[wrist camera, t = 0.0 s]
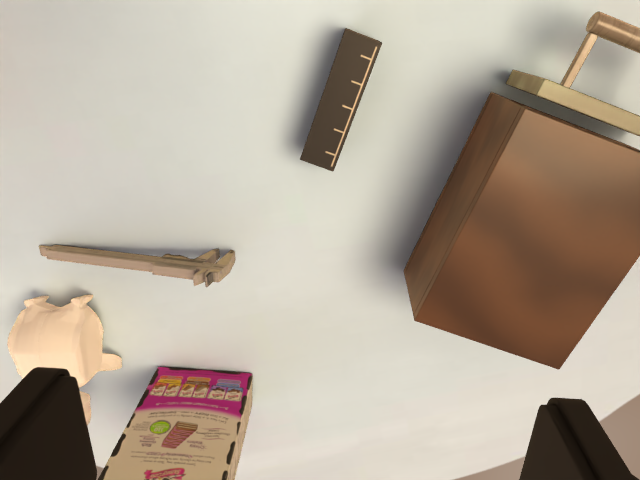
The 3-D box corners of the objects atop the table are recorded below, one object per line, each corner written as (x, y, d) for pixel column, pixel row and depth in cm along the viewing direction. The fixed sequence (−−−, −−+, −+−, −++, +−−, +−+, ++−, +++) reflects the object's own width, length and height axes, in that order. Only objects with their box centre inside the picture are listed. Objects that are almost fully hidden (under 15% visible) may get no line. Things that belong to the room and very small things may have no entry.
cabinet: (490, 91, 42) (525, 107, 34) (630, 146, 43) (697, 175, 35) (403, 270, 49) (414, 320, 41) (524, 313, 50) (559, 370, 42)
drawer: (545, 2, 38) (587, -3, 31) (684, 59, 39) (753, 66, 33) (423, 248, 47) (435, 285, 41) (538, 289, 48) (569, 332, 42)
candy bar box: (161, 398, 58) (95, 529, 43) (157, 364, 56) (87, 489, 41) (254, 406, 58) (221, 540, 43) (254, 372, 55) (219, 500, 40)
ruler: (345, 27, 40) (345, 28, 37) (379, 41, 41) (382, 42, 37) (303, 148, 45) (299, 159, 41) (334, 159, 45) (333, 171, 41)
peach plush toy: (48, 291, 56) (54, 420, 57) (-7, 304, 48) (2, 454, 48) (119, 290, 56) (125, 419, 56) (77, 302, 47) (85, 455, 48)
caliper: (236, 248, 49) (221, 277, 44) (237, 258, 50) (222, 288, 44) (41, 243, 50) (1, 271, 45) (43, 253, 51) (4, 282, 45)
